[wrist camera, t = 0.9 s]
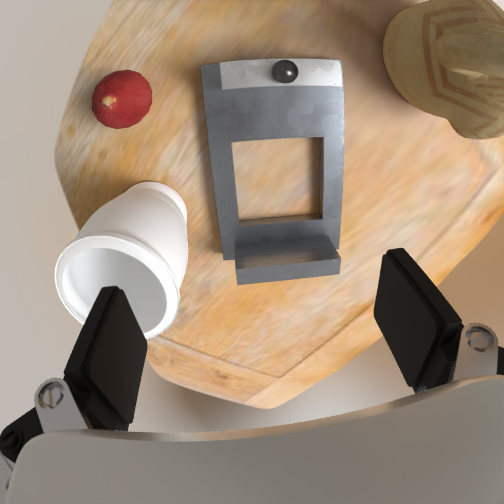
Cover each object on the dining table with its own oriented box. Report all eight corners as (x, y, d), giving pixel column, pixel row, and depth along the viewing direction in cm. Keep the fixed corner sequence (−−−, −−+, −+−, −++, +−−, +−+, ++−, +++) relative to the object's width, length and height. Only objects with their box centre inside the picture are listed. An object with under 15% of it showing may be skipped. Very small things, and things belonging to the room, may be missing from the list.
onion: (109, 125, 28) (76, 139, 21) (108, 75, 25) (73, 75, 18) (159, 121, 28) (138, 133, 22) (160, 68, 25) (137, 64, 19)
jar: (180, 159, 31) (144, 218, 18) (208, 240, 36) (198, 332, 23) (97, 188, 31) (31, 256, 19) (130, 260, 37) (93, 348, 24)
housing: (201, 66, 26) (194, 61, 20) (337, 62, 26) (362, 58, 20) (223, 253, 37) (223, 286, 32) (335, 243, 38) (352, 272, 32)
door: (221, 66, 25) (219, 61, 19) (323, 63, 25) (345, 59, 20) (223, 89, 26) (221, 89, 21) (324, 85, 26) (346, 86, 21)
